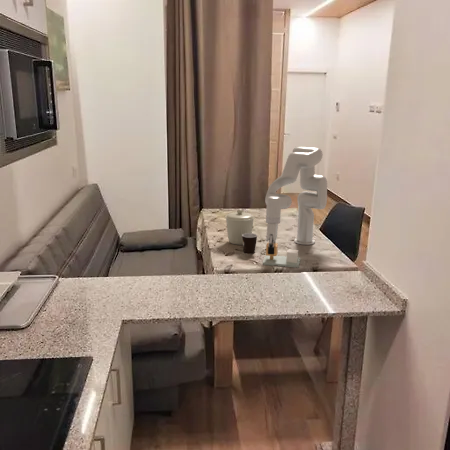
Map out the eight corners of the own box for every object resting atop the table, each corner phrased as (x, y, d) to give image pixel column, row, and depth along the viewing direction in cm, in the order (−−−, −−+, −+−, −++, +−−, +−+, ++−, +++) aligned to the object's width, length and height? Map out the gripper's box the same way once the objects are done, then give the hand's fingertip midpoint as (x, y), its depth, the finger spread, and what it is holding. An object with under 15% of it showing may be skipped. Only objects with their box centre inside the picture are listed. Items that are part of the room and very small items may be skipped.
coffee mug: (255, 254, 253) (256, 237, 251) (240, 253, 255) (240, 236, 252) (258, 248, 264) (258, 232, 262) (243, 247, 266) (244, 231, 263)
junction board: (265, 256, 250) (266, 245, 249) (300, 259, 246) (300, 248, 245) (262, 264, 238) (262, 252, 236) (298, 267, 234) (299, 255, 232)
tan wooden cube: (267, 252, 246) (267, 242, 244) (277, 252, 244) (277, 243, 243) (265, 255, 240) (266, 245, 239) (276, 256, 239) (276, 246, 238)
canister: (220, 244, 271) (220, 210, 265) (230, 236, 287) (231, 204, 282) (248, 248, 265) (249, 213, 259) (257, 240, 281) (258, 207, 275)
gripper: (268, 215, 246) (266, 247, 251) (263, 223, 230) (262, 256, 235) (281, 216, 245) (280, 248, 249) (278, 224, 228) (276, 257, 233)
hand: (271, 251), depth 242 cm, fingers closed on tan wooden cube, 5 cm apart
